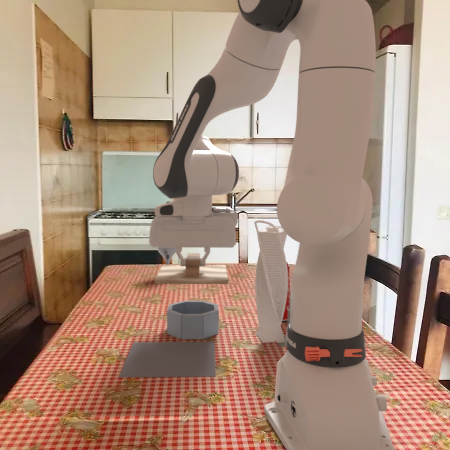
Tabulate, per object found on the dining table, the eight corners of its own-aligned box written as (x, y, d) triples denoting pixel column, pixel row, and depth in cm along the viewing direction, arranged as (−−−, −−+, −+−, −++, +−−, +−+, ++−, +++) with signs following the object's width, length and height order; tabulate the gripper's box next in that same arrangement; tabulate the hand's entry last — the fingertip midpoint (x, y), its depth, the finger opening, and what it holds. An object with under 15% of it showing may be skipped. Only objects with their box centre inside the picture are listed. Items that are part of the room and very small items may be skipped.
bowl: (218, 340, 110) (218, 315, 109) (165, 341, 109) (165, 315, 109) (217, 323, 122) (217, 300, 121) (170, 324, 121) (169, 300, 121)
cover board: (228, 284, 106) (228, 264, 106) (155, 283, 106) (155, 263, 105) (225, 269, 122) (225, 251, 122) (162, 268, 122) (162, 251, 121)
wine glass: (152, 278, 171) (152, 236, 169) (162, 273, 179) (161, 233, 177) (173, 280, 169) (173, 237, 167) (182, 275, 176) (182, 234, 175)
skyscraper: (259, 350, 105) (261, 222, 102) (248, 337, 113) (249, 218, 110) (295, 346, 108) (298, 221, 104) (281, 334, 115) (284, 217, 112)
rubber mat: (215, 378, 90) (215, 376, 90) (118, 379, 89) (118, 377, 89) (214, 344, 108) (214, 341, 108) (133, 344, 107) (133, 342, 107)
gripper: (237, 206, 116) (236, 263, 117) (151, 206, 115) (151, 263, 116) (238, 208, 109) (237, 268, 111) (147, 208, 109) (148, 268, 110)
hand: (192, 266), depth 114 cm, fingers closed on cover board, 3 cm apart
